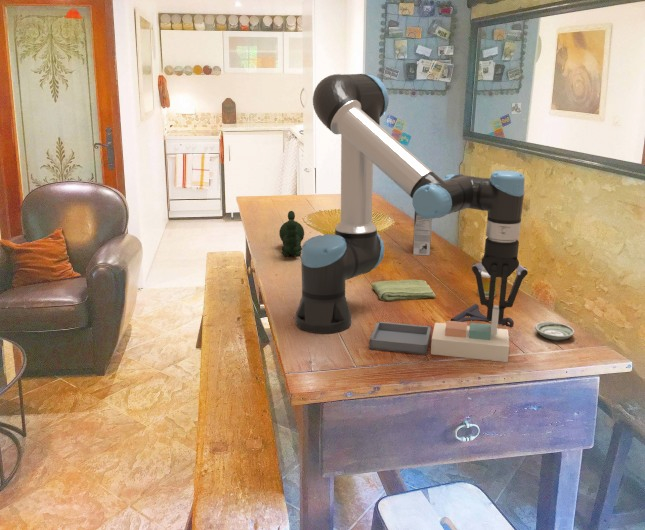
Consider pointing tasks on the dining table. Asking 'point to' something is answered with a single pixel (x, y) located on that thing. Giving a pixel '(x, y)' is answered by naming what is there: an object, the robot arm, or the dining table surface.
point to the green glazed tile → (480, 331)
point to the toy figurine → (291, 236)
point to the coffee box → (422, 235)
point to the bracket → (478, 316)
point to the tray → (400, 338)
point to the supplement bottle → (486, 282)
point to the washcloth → (402, 290)
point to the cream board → (470, 345)
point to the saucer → (554, 330)
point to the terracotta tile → (456, 329)
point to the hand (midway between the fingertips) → (493, 332)
